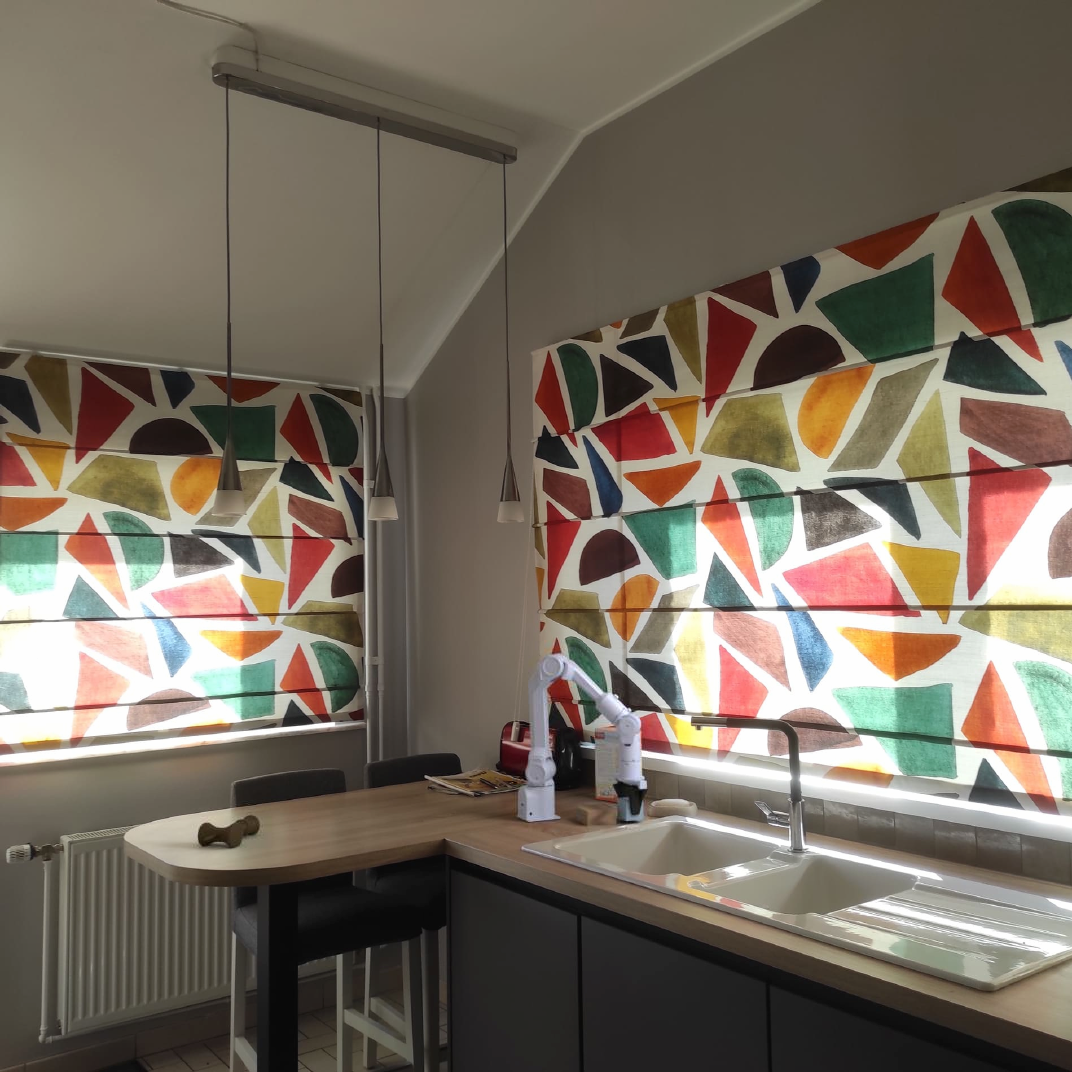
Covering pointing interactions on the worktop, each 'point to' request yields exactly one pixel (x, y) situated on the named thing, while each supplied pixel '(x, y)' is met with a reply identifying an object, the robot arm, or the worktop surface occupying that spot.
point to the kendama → (228, 832)
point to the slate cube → (627, 810)
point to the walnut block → (596, 815)
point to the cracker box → (608, 762)
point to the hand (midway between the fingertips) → (630, 812)
